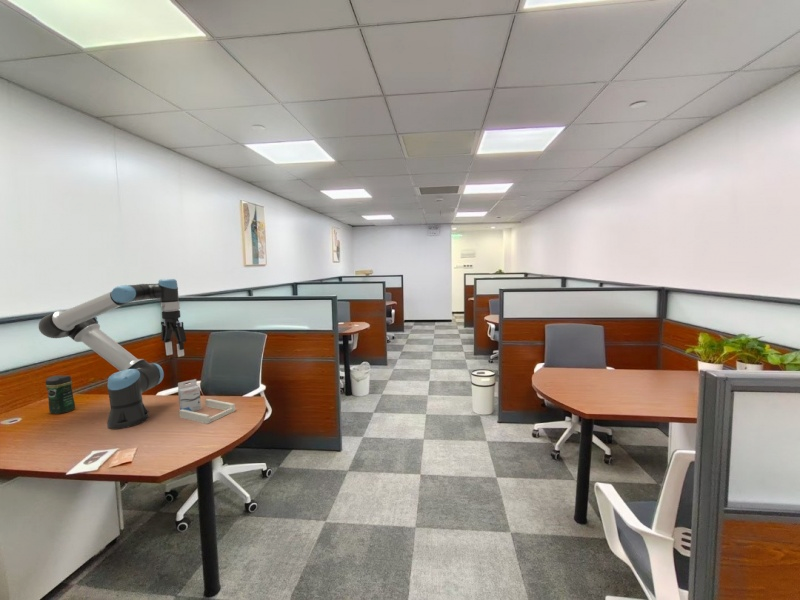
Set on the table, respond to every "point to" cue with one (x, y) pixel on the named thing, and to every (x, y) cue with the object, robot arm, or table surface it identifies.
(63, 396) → the coffee jar
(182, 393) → the ink box
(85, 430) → the table surface
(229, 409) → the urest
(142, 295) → the robot arm
